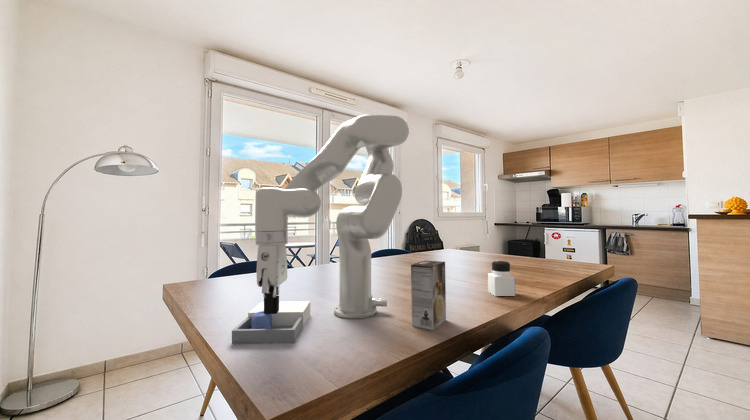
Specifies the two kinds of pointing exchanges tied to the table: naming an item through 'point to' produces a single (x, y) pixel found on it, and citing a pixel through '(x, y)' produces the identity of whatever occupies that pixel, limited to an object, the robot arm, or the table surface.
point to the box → (266, 333)
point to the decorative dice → (261, 320)
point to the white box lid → (286, 312)
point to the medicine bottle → (501, 279)
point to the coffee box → (428, 294)
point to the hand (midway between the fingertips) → (271, 312)
